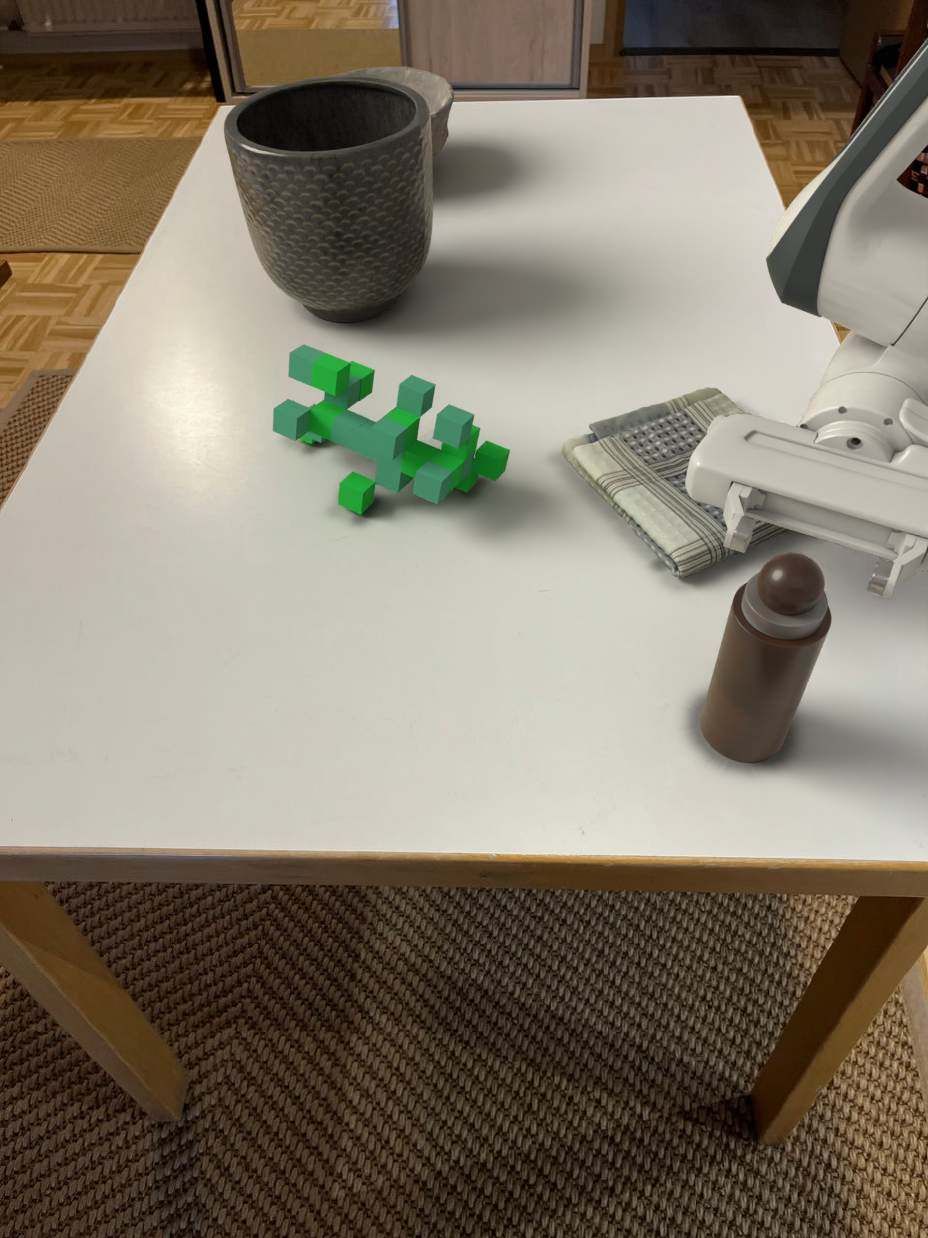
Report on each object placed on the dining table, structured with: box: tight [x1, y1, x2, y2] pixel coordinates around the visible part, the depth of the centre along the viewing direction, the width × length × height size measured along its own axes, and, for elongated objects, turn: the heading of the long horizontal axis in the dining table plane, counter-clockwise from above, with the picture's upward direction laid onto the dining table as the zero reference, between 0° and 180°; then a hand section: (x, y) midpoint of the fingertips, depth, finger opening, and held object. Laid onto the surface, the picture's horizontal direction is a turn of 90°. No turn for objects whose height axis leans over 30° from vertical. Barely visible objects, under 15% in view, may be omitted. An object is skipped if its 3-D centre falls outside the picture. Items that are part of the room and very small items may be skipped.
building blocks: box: [272, 343, 511, 515], centre depth 78 cm, size 20×12×13 cm, turn 79°
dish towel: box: [560, 387, 791, 578], centre depth 78 cm, size 19×18×3 cm
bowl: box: [329, 66, 455, 160], centre depth 118 cm, size 21×21×10 cm
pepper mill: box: [700, 551, 833, 763], centre depth 57 cm, size 6×6×16 cm
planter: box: [223, 75, 434, 323], centre depth 95 cm, size 20×20×19 cm
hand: (805, 565), depth 60 cm, fingers open, 8 cm apart
